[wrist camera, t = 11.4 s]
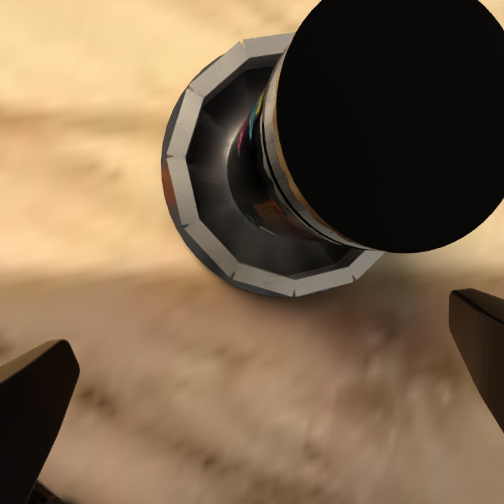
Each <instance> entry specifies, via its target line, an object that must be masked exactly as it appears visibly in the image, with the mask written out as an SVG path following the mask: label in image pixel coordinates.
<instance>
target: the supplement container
mask: <svg viewBox="0 0 504 504" xmlns="http://www.w3.org/2000/svg"><path fill="white" fill-rule="evenodd" d="M227 178H228V184H229V188H230V192H231V194H232V197H233V199H234V201H235V203H236V205H237V207H238V208H239V210H240V211H241V213H242V214H243V215H244V216H245V217H246V219H247V220H248V221H249V222H251V223H252V224H253V225H254V226H256V227H257V228H258V229H260V230H262V231H264V232H265V233H268V234H270V235H273V236H276V237H280V238H285V239H293V240H302V241H310V242H318V243H327V244H335V245H342V246H345V247H348V248H353V249H359V250H368V251H383V252H390V253H419V252H425V251H430V250H434V249H437V248H441V247H443V246H446V245H448V244H451V243H453V242H455V241H457V240H459V239H461V238H463V237H464V236H466V235H467V234H469V233H470V232H472V231H473V230H475V229H476V228H477V227H478V226H479V225H481V224H482V223H483V222H484V221H485V220H486V219H487V218H488V217H489V216H490V215H491V214H492V213H493V212H494V210H495V209H496V208H497V207H498V205H499V204H500V203H501V201H502V200H503V198H504V30H503V28H502V27H501V25H500V24H499V22H498V21H497V20H496V19H495V17H494V16H493V15H492V14H491V13H490V12H489V10H488V9H487V8H486V7H485V6H484V5H483V4H482V3H481V2H479V1H478V0H322V1H321V2H320V3H319V4H318V5H317V6H316V7H315V8H314V9H313V10H312V11H311V12H310V13H309V14H308V16H307V17H306V18H305V20H304V21H303V22H302V24H301V25H300V27H299V28H298V30H297V32H296V33H295V35H294V37H293V38H292V40H291V42H290V43H289V45H288V46H287V47H286V49H285V50H284V52H283V53H282V55H281V56H280V58H279V60H278V61H277V63H276V65H275V67H274V69H273V71H272V73H271V75H270V78H269V80H268V83H267V84H266V86H265V88H264V89H263V91H262V93H261V94H260V96H259V98H258V99H257V101H256V103H255V104H254V106H253V107H252V109H251V111H250V112H249V114H248V116H247V117H246V119H245V121H244V122H243V124H242V126H241V127H240V129H239V131H238V132H237V134H236V136H235V138H234V140H233V142H232V145H231V147H230V151H229V155H228V161H227Z"/></svg>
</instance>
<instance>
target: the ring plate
mask: <svg viewBox="0 0 504 504" xmlns="http://www.w3.org/2000/svg"><path fill="white" fill-rule="evenodd" d="M295 33H296V32H294V33H287V34H280V35H273V36H265V37H258V38H251V39H244V40H243V42H242V44H241V43H240V42H238V43H237V44H236V45H235V46H233V47H232V48H231V49H230V50H229V51H228V52H226V53H225V54H223V55H222V56H220V57H218V58H217V59H215V60H214V61H213V62H211V63H210V64H209V65H207V66H206V67H205V68H204V69H203V70H202V71H201V72H200V73H199V74H198V75H197V76H196V77H195V78H194V79H193V80H192V81H191V82H190V84H189V85H188V86H187V88H186V89H185V90H184V92H183V93H182V94H181V96H180V98H179V100H178V102H177V103H176V105H175V107H174V109H173V111H172V114H171V117H170V119H169V122H168V124H167V128H166V132H165V136H164V140H163V146H162V156H161V175H162V184H163V190H164V196H165V200H166V203H167V206H168V210H169V213H170V215H171V218H172V220H173V222H174V224H175V226H176V228H177V230H178V232H179V234H180V235H181V237H182V238H183V240H184V242H185V243H186V245H187V246H188V247H189V248H190V250H191V251H192V252H193V253H194V255H195V256H196V257H197V258H198V259H199V260H200V261H201V262H202V263H203V264H204V265H205V266H206V267H208V268H209V269H210V270H211V271H212V272H214V273H215V274H217V275H218V276H219V277H221V278H222V279H224V280H226V281H227V282H229V283H231V284H233V285H235V286H237V287H239V288H242V289H245V290H247V291H250V292H253V293H257V294H261V295H266V296H272V297H285V298H286V297H302V296H307V295H313V294H317V293H320V292H323V291H326V290H329V289H332V288H334V287H336V286H340V285H344V284H348V283H352V282H353V279H355V280H357V279H358V278H359V277H361V276H362V275H363V274H364V273H365V272H366V271H367V270H368V269H369V268H370V267H371V266H372V265H373V264H374V263H375V262H376V261H377V260H378V259H379V258H380V257H381V256H382V255H383V254H384V253H385V252H383V251H368V250H359V249H353V248H348V247H345V246H342V245H335V244H327V243H318V242H310V241H302V240H293V239H285V238H280V237H276V236H273V235H270V234H268V233H265V232H264V231H262V230H260V229H258V228H257V227H256V226H254V225H253V224H252V223H251V222H249V221H248V220H247V219H246V217H245V216H244V215H243V214H242V213H241V211H240V210H239V208H238V207H237V205H236V203H235V201H234V199H233V197H232V194H231V192H230V188H229V184H228V178H227V161H228V155H229V151H230V147H231V145H232V142H233V140H234V138H235V136H236V134H237V132H238V131H239V129H240V127H241V126H242V124H243V122H244V121H245V119H246V117H247V116H248V114H249V112H250V111H251V109H252V107H253V106H254V104H255V103H256V101H257V99H258V98H259V96H260V94H261V93H262V91H263V89H264V88H265V86H266V84H267V83H268V80H269V78H270V75H271V73H272V71H273V69H274V67H275V65H276V63H277V61H278V60H279V58H280V56H281V55H282V53H283V52H284V50H285V49H286V47H287V46H288V45H289V43H290V42H291V40H292V38H293V37H294V35H295Z"/></svg>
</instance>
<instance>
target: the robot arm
mask: <svg viewBox="0 0 504 504" xmlns="http://www.w3.org/2000/svg"><path fill="white" fill-rule="evenodd" d="M449 328H450V332H451V334H452V336H453V339H454V341H455V343H456V345H457V347H458V349H459V351H460V353H461V356H462V358H463V360H464V362H465V364H466V366H467V368H468V370H469V373H470V375H471V377H472V379H473V381H474V383H475V385H476V387H477V389H478V391H479V393H480V395H481V397H482V398H483V400H484V402H485V404H486V405H487V407H488V408H489V410H490V412H491V413H492V415H493V416H494V418H495V420H496V421H497V423H498V425H499V426H500V428H501V429H502V431H503V433H504V299H502V298H499V297H496V296H493V295H490V294H487V293H484V292H481V291H479V290H476V289H473V288H465V289H458V290H453V291H451V293H450V296H449ZM79 373H80V368H79V364H78V362H77V359H76V357H75V355H74V353H73V350H72V348H71V346H70V344H69V342H68V341H67V340H65V339H59V340H51V341H48V342H45V343H44V344H42V345H40V346H38V347H36V348H34V349H33V350H31V351H29V352H27V353H25V354H23V355H22V356H20V357H18V358H16V359H14V360H12V361H10V362H9V363H7V364H5V365H3V366H1V367H0V504H64V503H63V502H62V501H60V500H59V499H58V498H57V497H54V496H53V495H51V494H50V493H49V492H48V491H47V490H45V489H44V488H43V487H42V486H41V485H39V484H38V483H37V482H36V480H37V478H38V476H39V474H40V472H41V470H42V468H43V466H44V463H45V461H46V459H47V457H48V455H49V453H50V451H51V448H52V446H53V444H54V442H55V440H56V437H57V435H58V433H59V430H60V428H61V425H62V422H63V420H64V417H65V414H66V411H67V408H68V406H69V403H70V400H71V397H72V394H73V392H74V389H75V386H76V383H77V380H78V378H79Z"/></svg>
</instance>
